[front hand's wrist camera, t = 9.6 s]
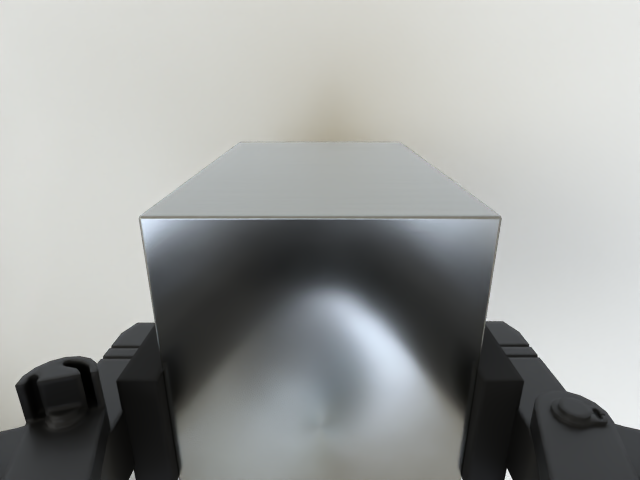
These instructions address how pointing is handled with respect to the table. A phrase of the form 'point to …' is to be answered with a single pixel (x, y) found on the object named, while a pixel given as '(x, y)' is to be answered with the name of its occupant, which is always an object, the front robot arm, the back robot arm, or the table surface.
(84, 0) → the table surface
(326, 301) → the block
